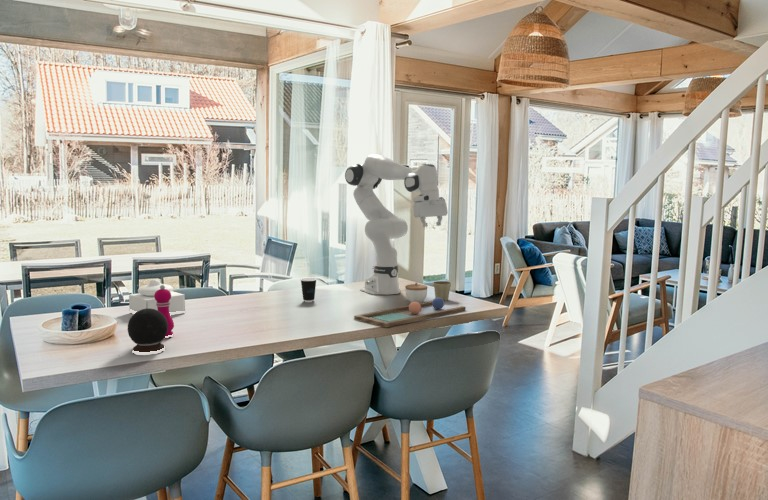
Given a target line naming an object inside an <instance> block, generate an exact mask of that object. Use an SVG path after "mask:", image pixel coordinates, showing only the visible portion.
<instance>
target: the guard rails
mask: <svg viewBox="0 0 768 500" xmlns="http://www.w3.org/2000/svg"><path fill="white" fill-rule="evenodd" d="M432 301H433V300H428V301H425V302H424V301H423V302H422V303H419V304H420V305H421V308H425V307H431V306H432ZM409 305H410V304H409ZM409 305H404V306H403V305H402V306H399V307H398V306H397V307H391V308H388V309H387V308H386V309H381V310H375V311H372V312H367V313H361V314H356V315H353V317H354V320H356V321H360V322H364V323H367V324H371V325H374V326H379V327H382V328H391V327H394V326H399V325H404V324H409V323H413V322H417V321H423V320H428V319H431V318H436V317H440V316H446V315H450V314H451V315H452V314H455V313H461V312H463V311H464V310H465V311H466V306H462V305H460V306H456V307H453V308H452V307H451V308H447V309H443V310H439V311H433V312H428V313H423V314H419V315H418V314H417V315H413V316H412V317H408V318H403V319H398V320H394V321H389V322H387V321H383V320H379V319H375V318H372V317H377V316H382V315H387V314H392V313H399V312H405V311H409ZM465 311H464V312H465Z"/></svg>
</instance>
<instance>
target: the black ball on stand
mask: <svg viewBox="0 0 768 500" xmlns="http://www.w3.org/2000/svg"><path fill="white" fill-rule="evenodd" d="M167 331H168V323H167V320H166V318H165V316H164V315H163V314H162V313H161V312H159V311H157V310H155V309H148V308H147V309H142V310H140V311H138V312H136V313H135V314H134V315H133V314H132V316H131V317H130V318H129V320H128V323H127V334H128V336H129V338H130V339H131V341H132V342H133V343H134V344H136V345H135V346H133V347H132V349H133V350H134V351H139V352H150V351H157V350H160V349H162V348H164V346H165V345H164V343H162V341H163V340H165V339H164V338H165V336H166V334H167Z"/></svg>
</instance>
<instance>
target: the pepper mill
mask: <svg viewBox="0 0 768 500" xmlns="http://www.w3.org/2000/svg"><path fill="white" fill-rule="evenodd" d="M154 298H155V300H156V301H157V302H156V306H157V308H158V311H159V312H161V313H162V314H163V315H164V316H165V318H166V320H167V323H168V331H167V334H166V336H168V335H172V334H173V335H174V332H173V331H172V330H173V329H174V328H175V323H174V320H173V318H172V316H170V313H169V306H170V301H169V300H170V299H171V293H170V291H169V290H167V289H165V286H164V285H161V286H160V290H157V291H156V292H155V295H154Z"/></svg>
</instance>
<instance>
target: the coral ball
mask: <svg viewBox="0 0 768 500" xmlns="http://www.w3.org/2000/svg"><path fill="white" fill-rule="evenodd" d="M421 310H422V307H421V305H420V304H419V303H418V302H412V303H411V302H410V303H409V310H408V311H409V312H410V313H411V314H413V315H418V314H419V313H420V312H421Z"/></svg>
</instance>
